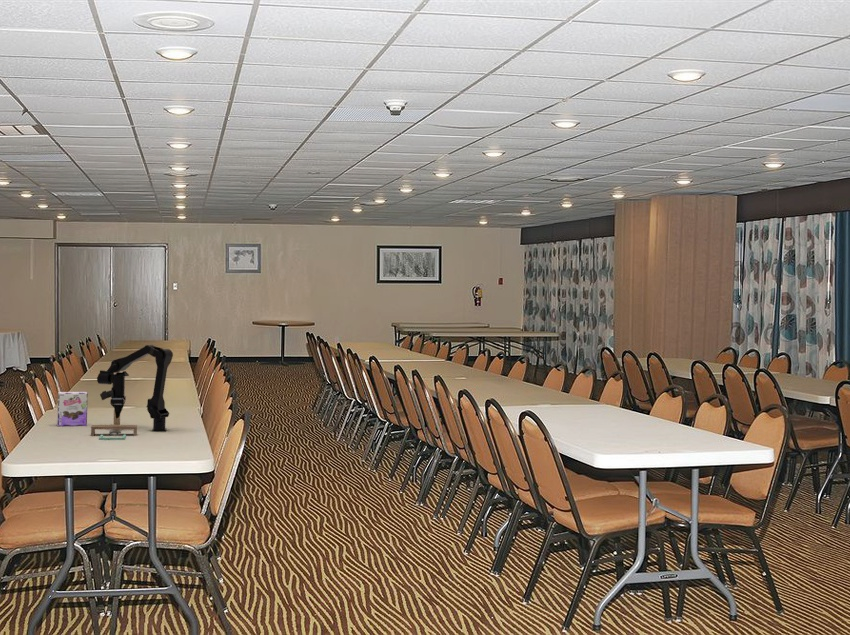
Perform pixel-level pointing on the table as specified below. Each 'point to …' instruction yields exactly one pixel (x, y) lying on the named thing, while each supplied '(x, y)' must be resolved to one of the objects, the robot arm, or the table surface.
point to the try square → (116, 423)
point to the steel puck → (114, 432)
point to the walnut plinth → (113, 428)
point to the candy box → (72, 409)
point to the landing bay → (112, 438)
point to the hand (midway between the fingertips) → (117, 416)
